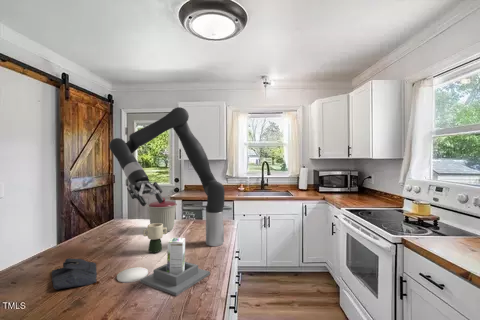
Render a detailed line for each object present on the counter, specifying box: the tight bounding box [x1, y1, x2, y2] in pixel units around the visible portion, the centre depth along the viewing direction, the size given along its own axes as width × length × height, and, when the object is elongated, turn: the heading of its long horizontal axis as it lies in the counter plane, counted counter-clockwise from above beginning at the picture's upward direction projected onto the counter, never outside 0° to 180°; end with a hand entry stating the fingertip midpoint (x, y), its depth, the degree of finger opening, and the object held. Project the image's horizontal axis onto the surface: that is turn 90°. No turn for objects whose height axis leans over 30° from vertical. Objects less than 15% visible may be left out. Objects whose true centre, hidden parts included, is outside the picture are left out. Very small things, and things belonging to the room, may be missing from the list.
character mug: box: [142, 223, 168, 253], centre depth 122 cm, size 11×7×13 cm, turn 113°
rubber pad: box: [116, 266, 149, 284], centre depth 96 cm, size 11×11×1 cm
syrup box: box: [166, 237, 186, 275], centre depth 94 cm, size 6×6×14 cm
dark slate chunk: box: [51, 257, 98, 290], centre depth 95 cm, size 15×22×5 cm
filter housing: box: [139, 261, 211, 297], centre depth 94 cm, size 18×18×4 cm
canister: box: [146, 196, 178, 233], centre depth 158 cm, size 18×18×21 cm
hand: (153, 203), depth 103 cm, fingers open, 8 cm apart
